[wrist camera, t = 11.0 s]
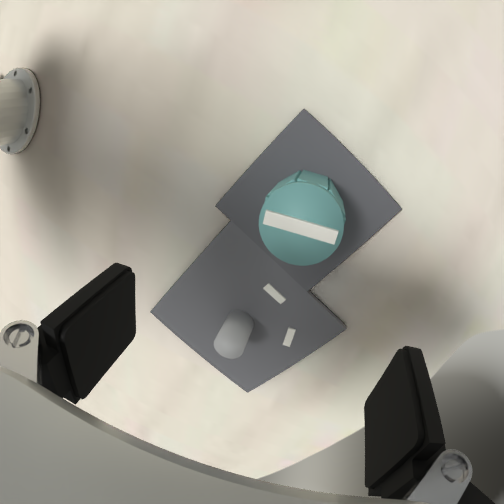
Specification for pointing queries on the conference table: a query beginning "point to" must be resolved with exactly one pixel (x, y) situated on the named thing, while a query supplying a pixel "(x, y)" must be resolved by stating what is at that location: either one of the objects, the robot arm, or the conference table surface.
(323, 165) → the mat
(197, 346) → the post plate
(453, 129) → the conference table surface
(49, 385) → the robot arm
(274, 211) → the cap
